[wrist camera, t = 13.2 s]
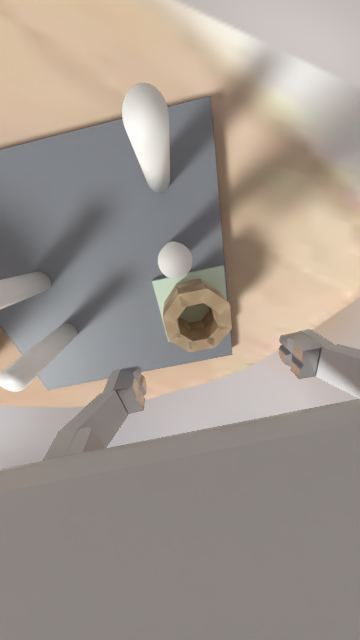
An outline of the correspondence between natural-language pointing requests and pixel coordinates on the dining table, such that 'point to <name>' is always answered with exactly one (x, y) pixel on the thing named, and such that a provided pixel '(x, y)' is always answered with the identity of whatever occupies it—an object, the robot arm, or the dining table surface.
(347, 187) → the dining table surface
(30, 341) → the board
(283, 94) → the dining table surface
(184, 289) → the ring
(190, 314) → the pad
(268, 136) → the dining table surface
